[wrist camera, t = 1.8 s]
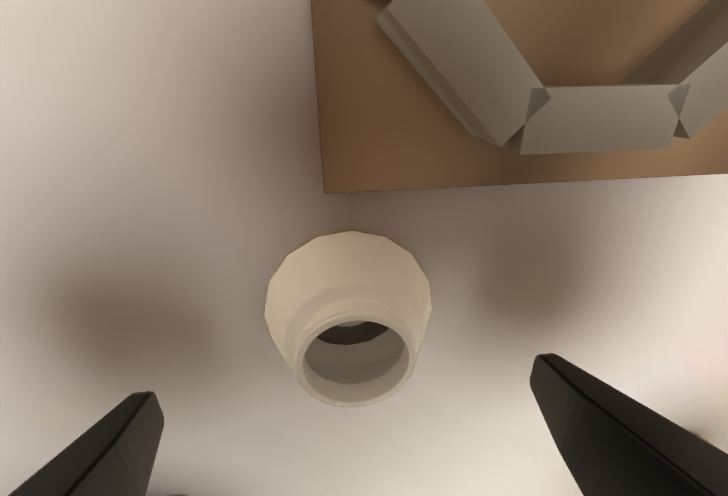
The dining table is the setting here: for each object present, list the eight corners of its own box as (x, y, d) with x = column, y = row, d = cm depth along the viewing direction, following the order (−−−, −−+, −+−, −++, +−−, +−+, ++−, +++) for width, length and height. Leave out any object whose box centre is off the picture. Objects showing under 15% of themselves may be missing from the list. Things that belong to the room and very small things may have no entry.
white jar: (455, 277, 12) (326, 194, 10) (494, 337, 9) (328, 236, 7) (365, 377, 13) (239, 319, 11) (376, 453, 10) (215, 392, 9)
